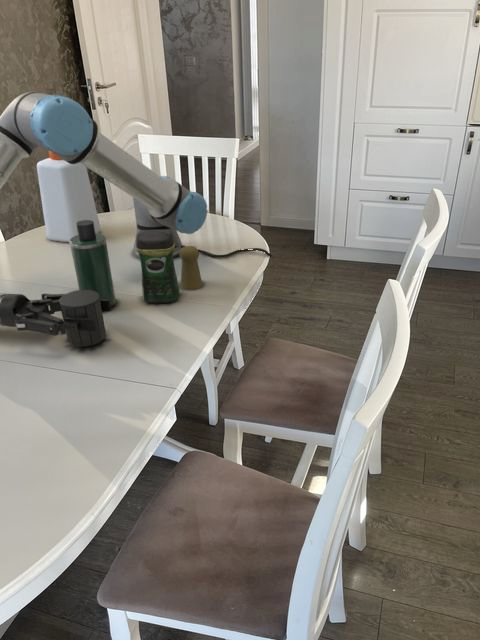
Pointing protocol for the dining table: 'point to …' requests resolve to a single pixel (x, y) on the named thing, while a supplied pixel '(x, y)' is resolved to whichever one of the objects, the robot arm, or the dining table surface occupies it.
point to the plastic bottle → (65, 197)
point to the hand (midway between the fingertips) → (102, 314)
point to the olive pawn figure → (190, 268)
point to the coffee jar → (157, 265)
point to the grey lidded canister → (83, 316)
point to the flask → (92, 261)
